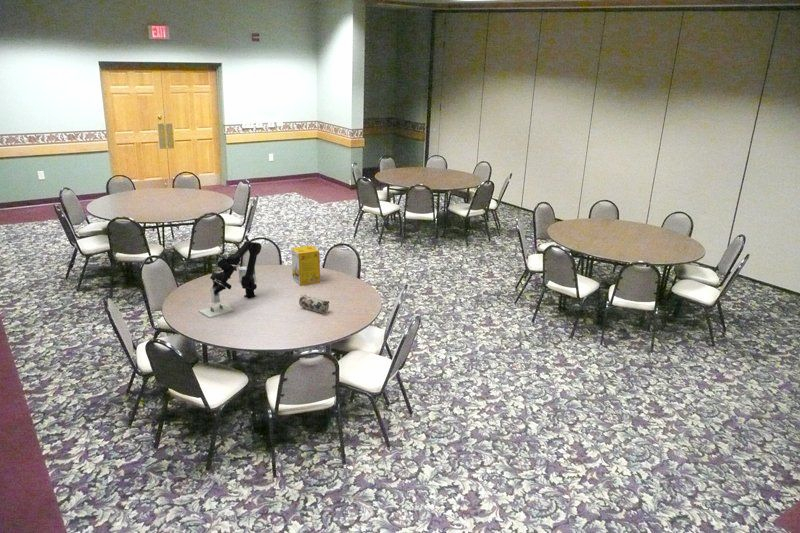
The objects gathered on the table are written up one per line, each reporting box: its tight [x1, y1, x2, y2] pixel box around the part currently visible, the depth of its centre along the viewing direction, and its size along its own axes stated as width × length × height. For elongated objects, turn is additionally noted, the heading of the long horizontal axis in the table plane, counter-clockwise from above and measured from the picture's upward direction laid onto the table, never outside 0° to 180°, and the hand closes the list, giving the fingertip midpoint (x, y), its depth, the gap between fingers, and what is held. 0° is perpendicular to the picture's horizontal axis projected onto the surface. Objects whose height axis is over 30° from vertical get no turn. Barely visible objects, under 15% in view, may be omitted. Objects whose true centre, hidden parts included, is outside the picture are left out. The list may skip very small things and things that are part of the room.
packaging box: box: [290, 245, 321, 287], centre depth 439 cm, size 16×16×25 cm
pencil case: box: [298, 293, 330, 315], centre depth 389 cm, size 22×8×10 cm, turn 57°
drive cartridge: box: [210, 286, 221, 304], centre depth 382 cm, size 4×4×10 cm
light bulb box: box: [238, 266, 257, 283], centre depth 438 cm, size 11×7×11 cm, turn 84°
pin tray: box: [198, 303, 236, 319], centre depth 385 cm, size 14×18×4 cm
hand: (213, 293), depth 380 cm, fingers closed on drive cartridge, 4 cm apart
